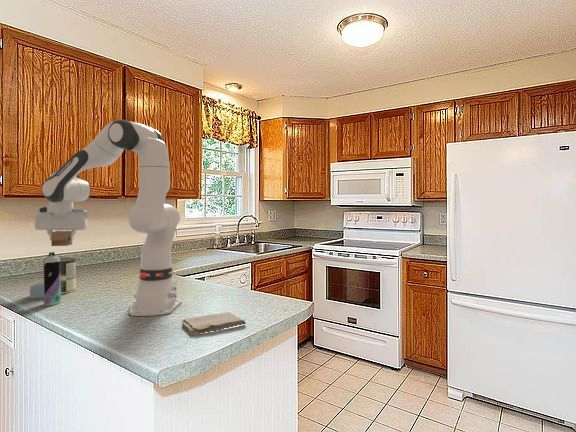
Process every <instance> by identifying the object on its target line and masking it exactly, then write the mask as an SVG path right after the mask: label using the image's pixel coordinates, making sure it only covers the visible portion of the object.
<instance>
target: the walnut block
mask: <svg viewBox="0 0 576 432" xmlns="http://www.w3.org/2000/svg"><path fill="white" fill-rule="evenodd" d="M71 235H72V232H71V230H54V231H53V232H51V240H50V241H51V242H50V243H51V247H68V246H71V245H73V240H69V236H71Z"/></svg>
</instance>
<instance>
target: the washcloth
mask: <svg viewBox="0 0 576 432" xmlns="http://www.w3.org/2000/svg"><path fill="white" fill-rule="evenodd" d="M180 323H181V324H182V326H183V327H184V328H185V329H186V330H185V329H184V328H183V329H184V330H185V331H187V333H188V334H190V335H191V336H198V335H197V334H200V333H205V332H210V331H216V330H221V329H224V328H229V327H233V326H237V325H242V324H245V325H246V321H245V319H242V318H240V317H237V316H236V315H235V314H234V313H232V312H221V313H212V314H205V315H200V316H194V317H188V318H184V319H182V321H181V322H180ZM200 335H201V334H200Z"/></svg>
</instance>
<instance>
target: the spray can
mask: <svg viewBox="0 0 576 432" xmlns="http://www.w3.org/2000/svg"><path fill="white" fill-rule="evenodd" d="M60 258H61V257H59V256H57V255H56V254H55V251H52V252H48V255H47V256H46V257H45V258H43V262H42V265H43V267H42V268H43V270H42V271H43V283H44V297H43V305H44V306H57V305H59V304H61V303H62V302H61V301H62V298H61V297H62V294H61V282H60Z"/></svg>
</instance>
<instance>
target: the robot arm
mask: <svg viewBox="0 0 576 432" xmlns="http://www.w3.org/2000/svg"><path fill="white" fill-rule="evenodd" d="M125 150H126V151H129V152H130V151H132V152H135V153H136V154H137V156H138V175H139V177H138V183H139V184H138V185H139V187H138V194H137V197H136V201H135V204H134V206H133V208H132V209H131V210H130V212H129V214H128V224H129V226H130V227H131V229H132V230H134V231H136V232H138V233H142V234H147V236H146V239H145V241H144V243H143V245H142V246H141V248H140V268H139V273H138V274H139V276H138V277H139V278H138V279H139V280H138V281H137V282H136V292H135V293H136V294H134V295H133V297H134V299H135V300H133V301H131V302H130V306H129V314H128V315H130V316H133V317H134V316H135V317H148V316H149V317H151V316H152V317H153V316H163V315H168V314H171V313H172V312H173V311H174V310H175V309H176V308H178V307H179V306H180V305H181V304H182V301H183V300H182V299H179V298H178V292H177V291H178V286H177V281H176V280H175V279H174V278H173V276H174V275H173V272H174V271H173V266H172V248H173V241H174V237H175V236H174V235H175V233H176V228H177V227H178V225H179V224H180V221H181V213H180V211H179V210H178V208H176V207H175V206H173V205H171V204H168V203H165V202H166V197H167V194H168V193H169V190H170V188H171V179H170V177H171V176H170V175H171V167H170V158H169V151H168V148H167V144H166V143H165V142H164V141H163V137H162V134H161V132H159V130H157V129H155V127H151V126H147V125H145V124H142V123H140V122H135V121H129V120H127V119H117V120H114V121H110V122H109V123H108V124H107V125H105V126H104V127H103V128H102V129H101V130H100V131H99V133H98V134H96V136H95V137H94V139H93V140H92V141H91V142H90V143H89V144H88V145H86V146H85V147H83V148H82V149H80V150H78V151H77V152H75V153H74V154H73V155H72V156H70V158H69V159H68V160H66V161H65V163H64V164H63V165H62V166H61V167H60V168H59V169H58V170H57V171H53V172H52V173H51V174H50V176H49V177H48V178H47V179H46V180H44V182H43V184H42V186H41V192H42V196H44V198H45V199H46V200H48V201H49V204H48V205H44V206H40V207H37V208H36V215H35V219H34V229H35V230H36V231H46V234H47V235H48V236H49V240H50V241H51V232H54V231H71V232H72V235H71V236H69V240H72V241H74V239H75V235H76V234H77V232H78V231H85V230H87V229H88V227H89V221H88V211H87V210H86V209H84V208H74V202H83V201H84V202H85V201H87V200H88V199H89V198H90V196H91V192H92V190H91V189H92V188H91V185H90V183H89V182H88V181H87V180H85V179H82V178H78V177H77V176H78V175H79V174H80V173H81V172H83V171H85V170H89V169H94V168H103V167H108V166H111V165H112V164H114V163H115V162H116V161H117V160H118V159H119V158H120V156H121V155H122V154H123V152H124V151H125Z"/></svg>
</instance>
